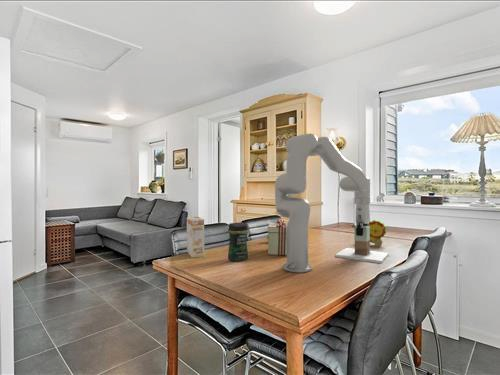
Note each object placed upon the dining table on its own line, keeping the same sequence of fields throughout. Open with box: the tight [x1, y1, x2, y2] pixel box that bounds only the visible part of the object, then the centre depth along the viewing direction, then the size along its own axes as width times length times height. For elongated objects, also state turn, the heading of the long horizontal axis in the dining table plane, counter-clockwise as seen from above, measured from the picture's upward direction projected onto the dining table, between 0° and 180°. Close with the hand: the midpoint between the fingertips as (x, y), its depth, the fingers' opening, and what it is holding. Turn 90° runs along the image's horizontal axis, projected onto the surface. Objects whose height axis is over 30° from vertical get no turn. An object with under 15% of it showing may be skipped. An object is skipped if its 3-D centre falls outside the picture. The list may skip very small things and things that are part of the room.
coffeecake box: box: [186, 216, 206, 259], centre depth 156 cm, size 15×7×20 cm, turn 22°
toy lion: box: [368, 219, 387, 247], centre depth 174 cm, size 16×5×15 cm, turn 58°
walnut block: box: [354, 240, 371, 256], centre depth 149 cm, size 6×6×7 cm
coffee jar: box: [227, 222, 249, 262], centre depth 144 cm, size 10×8×19 cm
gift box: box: [267, 219, 288, 256], centre depth 160 cm, size 17×18×17 cm
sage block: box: [353, 225, 370, 242], centre depth 149 cm, size 6×6×7 cm
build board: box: [334, 247, 390, 264], centre depth 149 cm, size 18×22×1 cm
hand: (362, 234), depth 149 cm, fingers open, 9 cm apart
